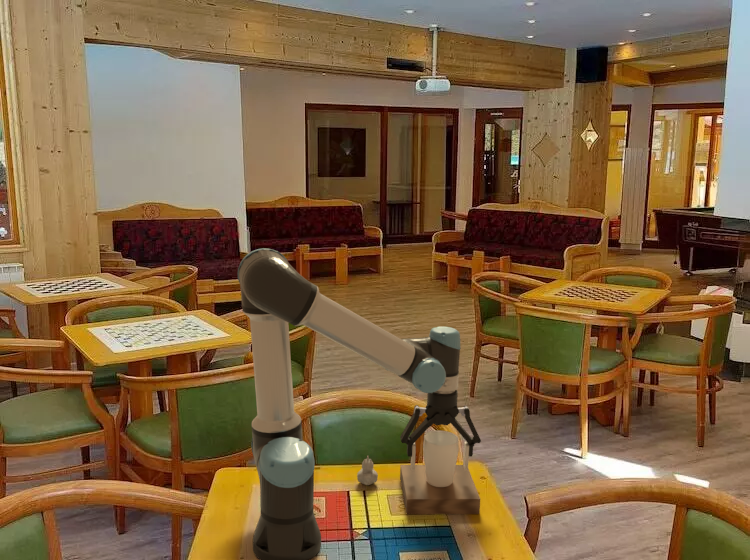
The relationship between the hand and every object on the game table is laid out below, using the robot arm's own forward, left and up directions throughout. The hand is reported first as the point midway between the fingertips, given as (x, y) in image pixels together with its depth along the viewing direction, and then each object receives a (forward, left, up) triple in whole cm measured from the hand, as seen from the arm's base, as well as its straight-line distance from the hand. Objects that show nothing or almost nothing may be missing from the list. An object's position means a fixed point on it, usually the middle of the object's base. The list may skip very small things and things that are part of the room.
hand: (439, 467), depth 174 cm
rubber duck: (-18, +6, -8) cm, 21 cm away
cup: (0, 0, -4) cm, 4 cm away
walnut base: (0, 0, -8) cm, 8 cm away
